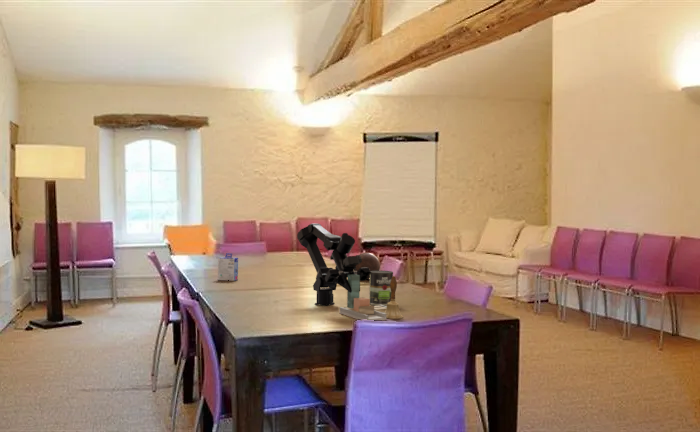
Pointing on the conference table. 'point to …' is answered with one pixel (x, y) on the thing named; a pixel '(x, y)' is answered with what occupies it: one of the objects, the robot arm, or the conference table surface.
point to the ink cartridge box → (228, 268)
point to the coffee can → (380, 287)
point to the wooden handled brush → (393, 302)
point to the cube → (361, 302)
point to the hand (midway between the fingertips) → (355, 291)
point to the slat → (356, 295)
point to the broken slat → (380, 308)
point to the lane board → (357, 315)
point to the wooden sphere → (368, 262)
